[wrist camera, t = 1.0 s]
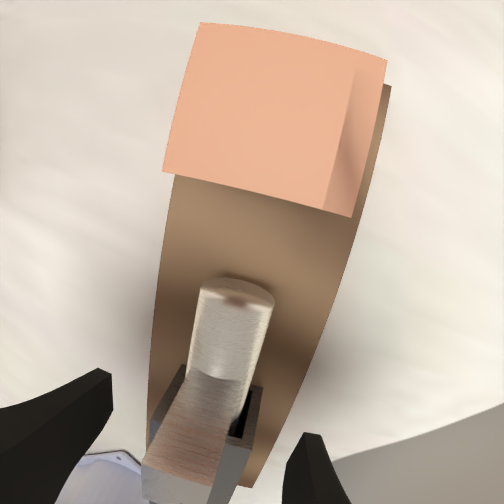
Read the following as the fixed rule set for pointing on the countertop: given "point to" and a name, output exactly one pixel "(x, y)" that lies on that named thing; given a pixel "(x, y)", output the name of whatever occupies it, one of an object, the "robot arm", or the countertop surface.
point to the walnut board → (253, 282)
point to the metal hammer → (208, 392)
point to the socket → (276, 115)
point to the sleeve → (234, 447)
